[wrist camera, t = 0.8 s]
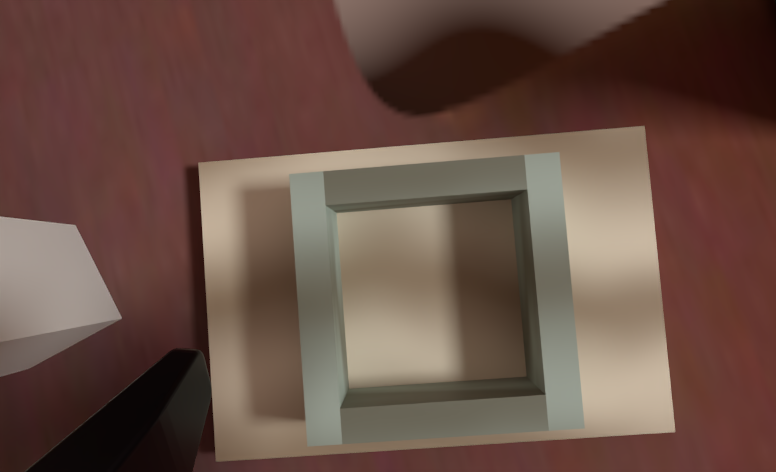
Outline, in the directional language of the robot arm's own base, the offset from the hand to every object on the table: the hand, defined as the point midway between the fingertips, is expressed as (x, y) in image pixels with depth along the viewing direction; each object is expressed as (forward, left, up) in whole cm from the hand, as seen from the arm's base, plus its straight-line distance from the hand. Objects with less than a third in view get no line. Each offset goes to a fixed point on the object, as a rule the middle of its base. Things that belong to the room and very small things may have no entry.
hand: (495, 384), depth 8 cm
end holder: (+1, 0, -15) cm, 15 cm away
